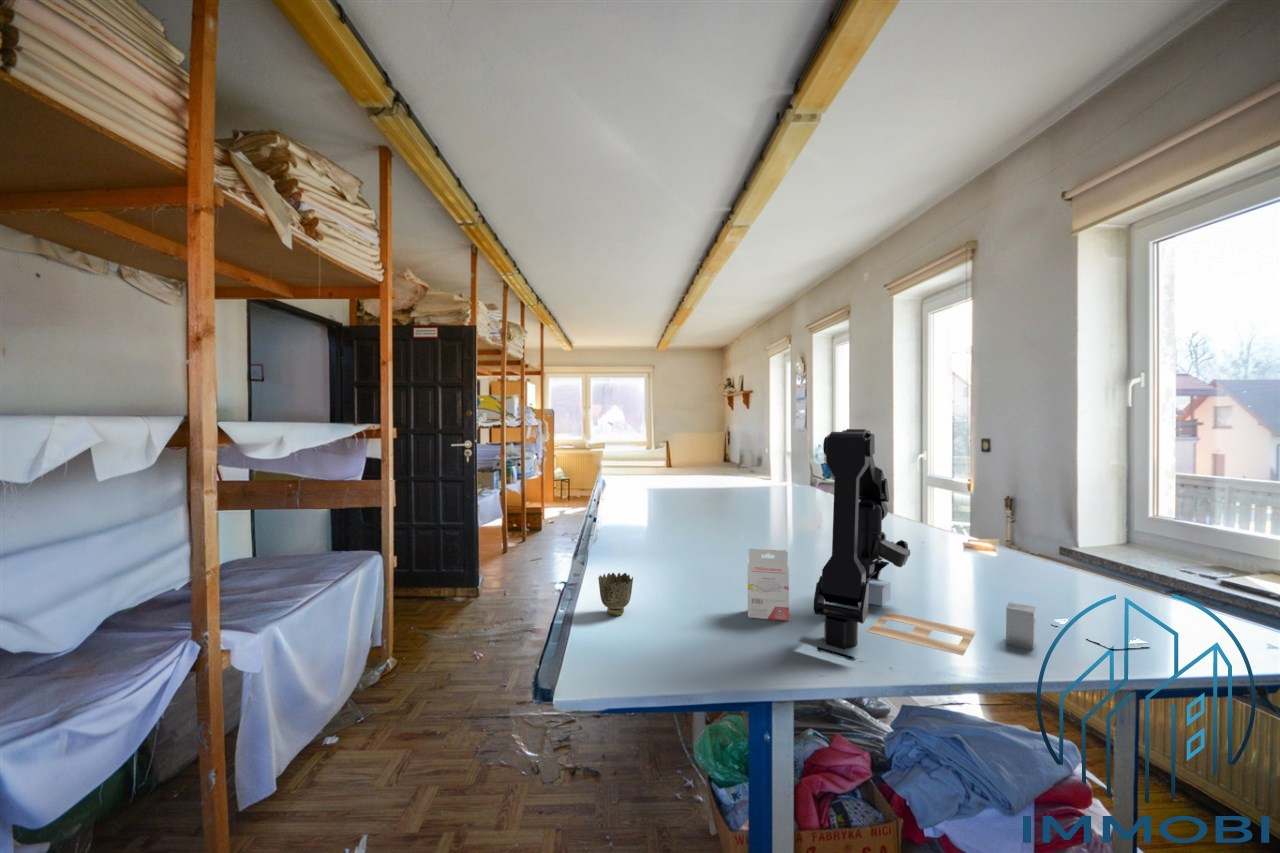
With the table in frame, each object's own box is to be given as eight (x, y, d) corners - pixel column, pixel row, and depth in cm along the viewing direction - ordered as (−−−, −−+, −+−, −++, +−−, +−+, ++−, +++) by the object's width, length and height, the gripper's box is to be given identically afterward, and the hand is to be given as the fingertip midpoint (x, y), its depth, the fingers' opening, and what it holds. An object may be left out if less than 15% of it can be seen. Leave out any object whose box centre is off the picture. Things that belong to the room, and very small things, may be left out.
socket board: (962, 663, 91) (963, 655, 91) (866, 639, 101) (866, 631, 101) (976, 639, 102) (976, 631, 102) (887, 618, 112) (887, 611, 112)
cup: (637, 617, 112) (638, 579, 112) (604, 622, 109) (604, 583, 109) (625, 606, 119) (626, 570, 119) (594, 610, 116) (594, 573, 116)
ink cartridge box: (788, 613, 115) (788, 545, 115) (789, 621, 110) (789, 550, 110) (747, 609, 117) (748, 543, 117) (747, 617, 112) (747, 548, 112)
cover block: (882, 606, 115) (882, 587, 115) (845, 598, 121) (845, 580, 121) (890, 599, 120) (890, 581, 120) (854, 591, 125) (854, 574, 125)
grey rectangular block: (1033, 658, 94) (1033, 612, 94) (1005, 651, 96) (1006, 607, 96) (1035, 650, 97) (1035, 607, 97) (1008, 644, 99) (1008, 602, 99)
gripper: (894, 539, 108) (893, 616, 108) (917, 526, 122) (916, 594, 122) (839, 532, 115) (838, 603, 115) (866, 520, 130) (866, 584, 130)
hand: (867, 596), depth 120 cm, fingers closed on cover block, 6 cm apart
